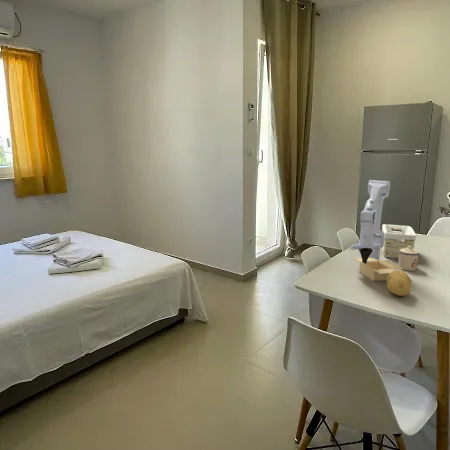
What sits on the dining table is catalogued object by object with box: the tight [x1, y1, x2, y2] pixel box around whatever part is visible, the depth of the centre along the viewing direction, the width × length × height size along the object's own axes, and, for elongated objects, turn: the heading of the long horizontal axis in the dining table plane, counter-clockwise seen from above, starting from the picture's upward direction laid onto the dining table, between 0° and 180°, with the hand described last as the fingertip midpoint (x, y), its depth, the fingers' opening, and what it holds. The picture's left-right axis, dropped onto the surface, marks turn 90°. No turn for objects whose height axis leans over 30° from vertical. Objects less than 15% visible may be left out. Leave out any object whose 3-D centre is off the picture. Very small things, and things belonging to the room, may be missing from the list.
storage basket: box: [381, 223, 417, 259], centre depth 211 cm, size 24×16×15 cm
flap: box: [352, 256, 372, 269], centre depth 172 cm, size 10×5×1 cm
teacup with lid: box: [397, 246, 420, 271], centre depth 187 cm, size 12×9×12 cm
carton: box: [356, 257, 403, 282], centre depth 175 cm, size 22×15×8 cm
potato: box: [386, 269, 413, 297], centre depth 153 cm, size 10×14×10 cm
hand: (364, 263), depth 173 cm, fingers closed, pressing on flap
